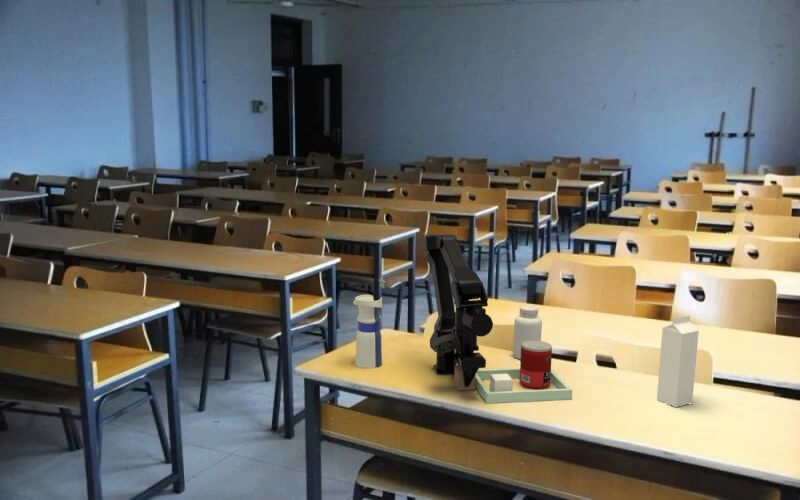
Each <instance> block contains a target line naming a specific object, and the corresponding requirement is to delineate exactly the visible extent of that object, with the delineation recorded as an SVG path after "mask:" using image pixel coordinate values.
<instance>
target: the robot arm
mask: <svg viewBox="0 0 800 500" xmlns="http://www.w3.org/2000/svg"><path fill="white" fill-rule="evenodd" d="M420 249H421V251H422V254H423V258H424V259H425V261H426V262H427V263H428V264H429V266H430V267H431V275H432V280H433V282H432V283H433V288H434V289H433V290H434V295H435V296H434V297H435V301H436V308H437V309H436V310H437V315H438V316H437V318H436V321H435V323H434V326H433V332H432V334H431V336H430V338H429V348H430V349H431V350H432V351H433V352H434V353H436V356H435V357H436V361H435V363H436V364H433V366H432V367H433V369H434V371H435V372H436V374H438V375H442V374H455V366H460V367H461V368H462V371H463V379H464V385H465V387H469V386H470V384H471V382H472V380H473V378H474V376H475V374H476V372H477V371H478V370H480V369H485V368H486V366H487V360H486V358H485V357H484V356H483V354H481V352H477V351H479V350H480V349H479V348H480V347H479V345H478V337H481V338H483V337H486V336H487V335H489V334H490V333H491V332H492V330H493V327H494V322H493V319H492V317H491V316H490V315H488V314H487V313H486V312H487V310H486V309H487V308H486V307H488V306H489V303H488V300H489V297H488V295H487V291H486V289H485V285H484V283H483V281H482V280H481V278H480V277H479V275H478V273H477V272H476V271H474V270H472V269H470V267H469V266H468V264H467V262H466V260H465V258H464V257H465V256H464V255H463V253H462V251H461V249H460V246H459V245H458V237H457V236H456V235H455V234H452V233H448V234H447V233H433V234H432V233H431V234H425V235H424V237H423V238H421V240H420ZM450 276H451V278H450ZM451 279H452V280H451ZM484 307H485V308H484Z"/></svg>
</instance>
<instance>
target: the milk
mask: <svg viewBox="0 0 800 500" xmlns="http://www.w3.org/2000/svg"><path fill="white" fill-rule="evenodd" d="M690 317H691V316H690V315H683V316H678V317H677V316H676V317H673V318H672V323H671V324H669V325H666V326H663V327H662V328H661V329H662V331H661V343H660V356H659V367H658V368H659V369H658V379H657V380H658V382H657V395H656V400H657V401H659V402H661V403H663V402H664V404H666V403H667V404H666V405H668V404H669V405H668V406H670V405H672V406H671V407H673V406H674V407H673V408H675V407H677V408H680V407H679V406H681V407H684V406H683V405H685V406H687V405H686V404H689V403H692V404H693V400H694V399H693V396H694V386H695V376H696V364H697V353H698V343H699V342H698V341H699V330H698V328H697V327H696V326H695V325H694V324H693V323H692V322H691V321H690ZM689 405H690V404H689Z"/></svg>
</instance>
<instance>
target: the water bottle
mask: <svg viewBox="0 0 800 500" xmlns="http://www.w3.org/2000/svg"><path fill="white" fill-rule="evenodd" d="M380 277H381V278H380V279H378V281H379V283H380V284H379V287H380V288H383V289H385V283H386V281H385V280H384V279H383V276H380ZM352 304H353V305H355V306H357V308H358V315H357V316H356V320H357V322H358V323H357V332H356V339H355V341H356V342H355V343H356V344H355V366H357V367H359V368H362V369H375V368H376V367H377V368H380V367H382V365H383V351H382V350H383V346H382V345H383V343H382V341H383V340H382V336H383V335H382V330H381V326H382V317H381V314H380V308H381V309H383V308H384V307H383V297H380V299H377V300H374V296H373V295H371V294H360V295H357V296H355V298H354V300H353V301H352ZM379 366H380V367H379Z"/></svg>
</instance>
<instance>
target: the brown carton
mask: <svg viewBox="0 0 800 500" xmlns="http://www.w3.org/2000/svg"><path fill="white" fill-rule="evenodd" d="M453 377H454V379H453V381H454V387H455V388H456V389H457V391H471V390H473V391H475V390H476V387H475V377H476V374H475V376H474V378H473V380H472V382H471V384H470V386H469V387H465V385H464V379H463V371H462V368H461V367H460V366H458V365H457V366H455V373H454V375H453Z"/></svg>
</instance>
